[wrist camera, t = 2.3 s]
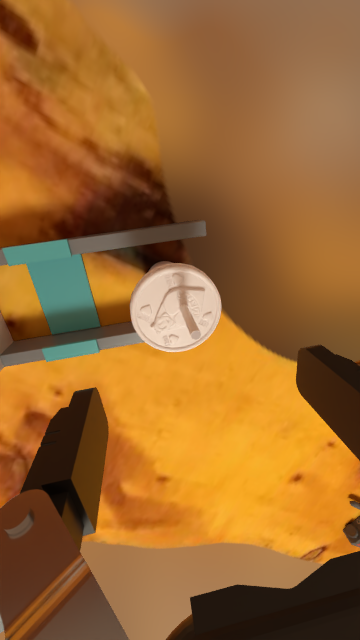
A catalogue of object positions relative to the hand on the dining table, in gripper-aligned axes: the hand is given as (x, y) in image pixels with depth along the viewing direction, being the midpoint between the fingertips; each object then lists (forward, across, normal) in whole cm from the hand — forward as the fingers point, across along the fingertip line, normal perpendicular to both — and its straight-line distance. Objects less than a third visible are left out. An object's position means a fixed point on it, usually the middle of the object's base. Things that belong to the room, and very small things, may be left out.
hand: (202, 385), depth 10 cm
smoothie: (+18, 0, 0) cm, 18 cm away
